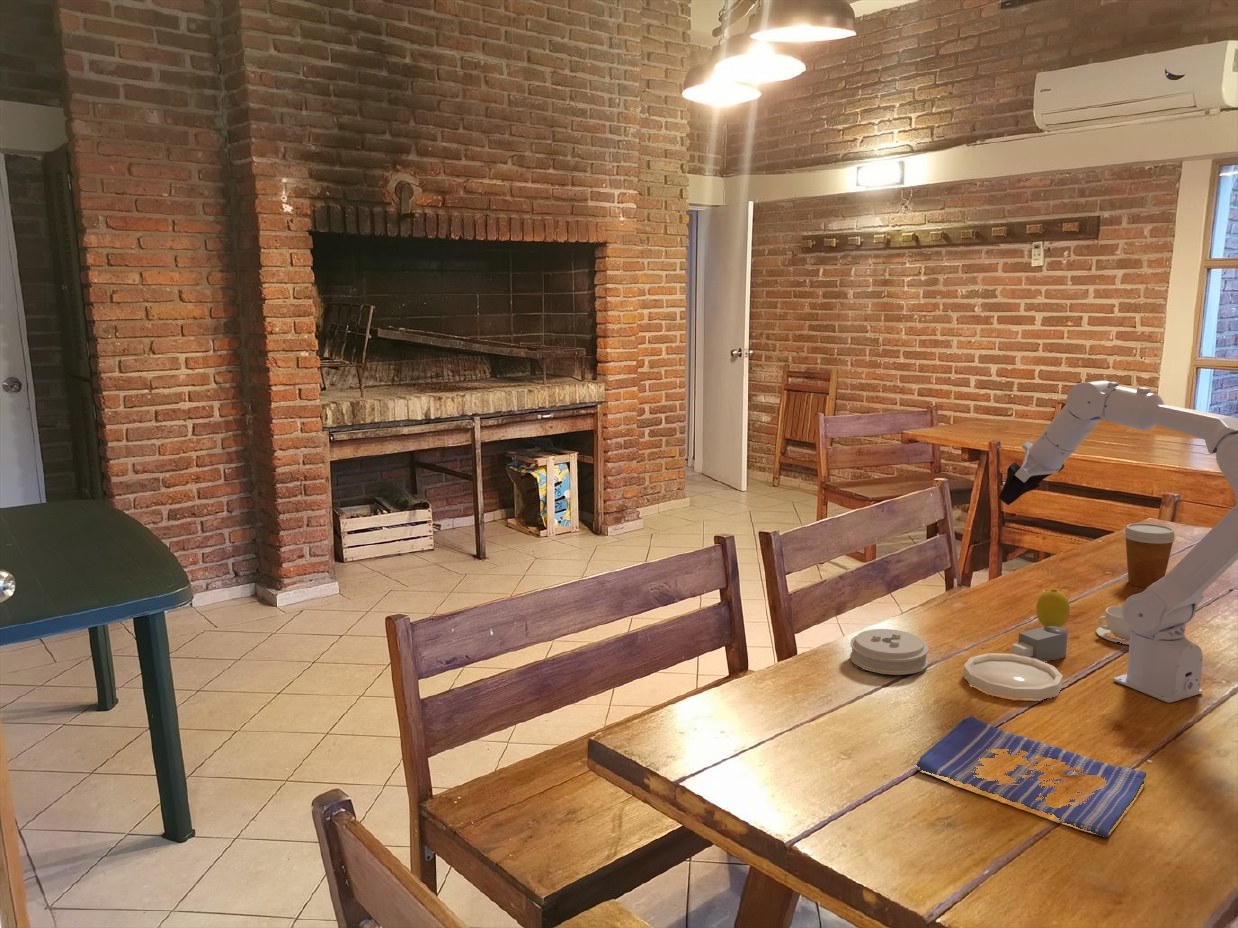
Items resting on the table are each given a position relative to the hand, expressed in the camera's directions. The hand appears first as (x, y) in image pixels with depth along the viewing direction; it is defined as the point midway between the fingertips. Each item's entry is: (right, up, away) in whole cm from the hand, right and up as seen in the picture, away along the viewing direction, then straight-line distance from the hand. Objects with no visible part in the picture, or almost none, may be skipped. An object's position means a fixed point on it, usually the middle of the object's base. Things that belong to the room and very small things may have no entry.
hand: (1014, 493), depth 162 cm
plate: (-7, -30, -16) cm, 34 cm away
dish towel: (-17, -36, -44) cm, 59 cm away
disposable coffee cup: (+41, -20, +30) cm, 54 cm away
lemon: (+9, -25, +6) cm, 28 cm away
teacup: (+21, -26, +2) cm, 33 cm away
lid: (-24, -29, -7) cm, 38 cm away
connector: (+2, -28, -6) cm, 28 cm away
